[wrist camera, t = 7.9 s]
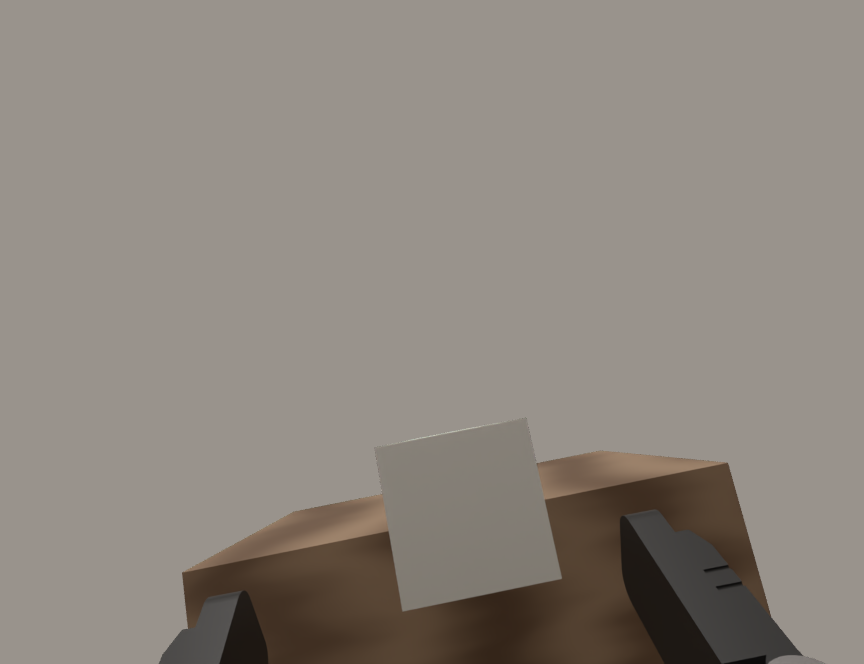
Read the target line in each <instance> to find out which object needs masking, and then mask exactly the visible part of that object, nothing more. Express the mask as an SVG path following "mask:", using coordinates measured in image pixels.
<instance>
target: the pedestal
mask: <svg viewBox="0 0 864 664" xmlns="http://www.w3.org/2000/svg"><path fill="white" fill-rule="evenodd" d="M537 468H538V472H539V477H540V481H541V486H542V490H543V495H544V499H545V504H546V508H547V513H548V518H549V522H550V527H551V531H552V536H553V540H554V545H555V549H556V554H557V558H558V563H559V567H560V572H561V576H562V579H559V580H554V581H549V582H544V583H539V584H534V585H529V586H525V587H520V588H515V589H510V590H505V591H500V592H495V593H491V594H486V595H481V596H476V597H471V598H466V599H461V600H457V601H452V602H447V603H442V604H437V605H432V606H427V607H423V608H418V609H413V610H408V611H403V612H402V606H401V600H400V594H399V588H398V583H397V577H396V571H395V565H394V559H393V553H392V548H391V542H390V536H389V530H388V524H387V518H386V512H385V507H384V501H383V495H382V494H381V495H376V496H371V497H365V498H360V499H355V500H350V501H345V502H340V503H335V504H330V505H325V506H321V507H315V508H310V509H305V510H300V511H295V512H292V513H290V514H289V515H287V516H285V517H283V518H281V519H279V520H278V521H276V522H274V523H272V524H270V525H269V526H267V527H265V528H263V529H261V530H259V531H258V532H256V533H254V534H252V535H250V536H248V537H247V538H245V539H243V540H241V541H239V542H237V543H236V544H234V545H232V546H230V547H228V548H226V549H225V550H223V551H221V552H219V553H217V554H215V555H214V556H212V557H210V558H208V559H207V560H205V561H203V562H201V563H199V564H197V565H195V566H194V567H192V568H190V569H188V570H186V571H185V572H183V573H182V575H183V585H184V594H185V604H186V613H187V622H188V629H189V628H195V627H196V624H197V621H198V618H199V616H200V613H201V610H202V607H203V605H204V602H205V601H206V599H207V598H208V597H212V596H217V595H222V594H227V593H233V592H238V591H243V590H245V591H247V592H248V594H249V596H250V599H251V601H252V604H253V607H254V610H255V613H256V616H257V619H258V621H259V624H260V627H261V630H262V633H263V636H264V639H265V642H266V645H267V651H268V664H664V662H663V660H662V658H661V656H660V654H659V653H658V651H657V649H656V647H655V645H654V643H653V642H652V640H651V638H650V636H649V634H648V632H647V631H646V629H645V627H644V625H643V623H642V621H641V619H640V618H639V616H638V614H637V612H636V610H635V608H634V607H633V605H632V603H631V601H630V599H629V596H628V594H627V591H626V588H625V584H624V580H623V575H622V564H621V540H620V518H621V516H623V515H628V514H633V513H639V512H644V511H649V510H654V509H655V510H658V511H659V512H660V513H661V514H662V515H663V517H664V518H665V519H666V521H667V522H668V523H669V525H670V526H671V527H672V529H673V530H674V531H675V532H678V531H683V530H688V529H689V530H690V531H692V532H693V533H695V534H696V535H698V536H700V537H701V538H703V539H704V540H706V541H707V542H709V543H710V544H712V545H713V546H714V548H715V549H716V550H717V551H718V553H719V554H720V555H721V556H722V557H723V559H724V560H725V561H726V562H727V564H728V566H729V568H730V569H732V570H733V571H734V572H735V573H736V575H737V576H738V577H739V578H740V580H741V581H742V584H743V586H746V587H747V588H748V589H749V591H750V592H751V593H752V594H753V596H754V597H755V598H756V599H757V601H758V602H759V603H760V604H761V605H762V607H763V608H764V609H765V610H766V612H767V613H768V614H769V615H770V611H769V608H768V604H767V600H766V596H765V593H764V589H763V586H762V582H761V579H760V576H759V572H758V568H757V565H756V561H755V557H754V554H753V551H752V547H751V543H750V540H749V536H748V533H747V529H746V526H745V522H744V519H743V515H742V511H741V508H740V504H739V501H738V497H737V494H736V490H735V486H734V483H733V479H732V476H731V472H730V469H729V465H728V463H725V462H714V461H704V460H693V459H683V458H671V457H662V456H651V455H641V454H630V453H619V452H609V451H596V452H591V453H586V454H582V455H577V456H571V457H566V458H561V459H556V460H551V461H546V462H541V463H537ZM770 617H771V615H770Z"/></svg>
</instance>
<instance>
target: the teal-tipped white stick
mask: <svg viewBox="0 0 864 664" xmlns="http://www.w3.org/2000/svg"><path fill="white" fill-rule="evenodd" d="M375 453H376V460H377V466H378V472H379V477H380V483H381V489H382V495H383V501H384V507H385V512H386V518H387V524H388V530H389V536H390V542H391V548H392V553H393V559H394V565H395V571H396V577H397V583H398V588H399V594H400V600H401V606H402V612H403V611H408V610H413V609H418V608H423V607H427V606H432V605H437V604H442V603H447V602H452V601H457V600H461V599H466V598H471V597H476V596H481V595H486V594H491V593H495V592H500V591H505V590H510V589H515V588H520V587H525V586H529V585H534V584H539V583H544V582H549V581H554V580H559V579H562V576H561V572H560V567H559V563H558V558H557V554H556V549H555V545H554V540H553V536H552V531H551V527H550V522H549V518H548V513H547V508H546V504H545V499H544V495H543V490H542V486H541V481H540V477H539V472H538V468H537V463H536V459H535V454H534V450H533V446H532V442H531V436H530V432H529V427H528V423H527V418H522V419H517V420H512V421H506V422H501V423H495V424H490V425H485V426H480V427H474V428H468V429H463V430H458V431H453V432H448V433H443V434H438V435H432V436H427V437H423V438H418V439H412V440H408V441H403V442H398V443H394V444H389V445H384V446H379V447H375Z"/></svg>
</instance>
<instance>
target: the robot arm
mask: <svg viewBox="0 0 864 664" xmlns="http://www.w3.org/2000/svg"><path fill="white" fill-rule="evenodd" d="M620 540H621V564H622V575H623V580H624V584H625V588H626V591H627V594H628V596H629V599H630V601H631V603H632V605H633V607H634V608H635V610H636V612H637V614H638V616H639V618H640V619H641V621H642V623H643V625H644V627H645V629H646V631H647V632H648V634H649V636H650V638H651V640H652V642H653V643H654V645H655V647H656V649H657V651H658V653H659V654H660V656H661V658H662V660H663V662H664V664H825V663H823V662H821V661H818V660H816V659H813V658H809V657H805V656H803V655H802V654H801V653H800V652H799V651H798V650H797V649H796V648H795V646H794V645H793V644H792V642H791V641H790V640H789V639H788V637H787V636H786V635H785V634H784V633H783V631H782V630H781V629H780V628H779V626H778V625H777V624H776V623H775V621H774V620H773V619H772V618H771V617H770V615H769V614H768V613H767V612H766V610H765V609H764V608H763V607H762V605H761V604H760V603H759V602H758V601H757V599H756V598H755V597H754V596H753V594H752V593H751V592H750V591H749V589H748V588H747V587H746V586H743V584H742V581H741V580H740V578H739V577H738V576H737V575H736V573H735V572H734V571H733V570H732V569H730V568H729V566H728V564H727V562H726V561H725V560H724V559H723V557H722V556H721V555H720V554H719V553H718V551H717V550H716V549H715V548H714V546H713V545H712V544H710V543H709V542H707V541H706V540H704V539H703V538H701V537H700V536H698V535H696V534H695V533H693V532H692V531H690V530H689V529H688V530H683V531H678V532H675V531H674V530H673V529H672V527H671V526H670V525H669V523H668V522H667V521H666V519H665V518H664V517H663V515H662V514H661V513H660V512H659V511H658V510H655V509H654V510H649V511H644V512H639V513H633V514H628V515H623V516H621V518H620ZM159 664H268V651H267V645H266V642H265V639H264V636H263V633H262V630H261V627H260V624H259V621H258V619H257V616H256V613H255V610H254V607H253V604H252V601H251V599H250V596H249V594H248V592H247V591H245V590H243V591H238V592H233V593H227V594H222V595H217V596H212V597H208V598H207V599H206V601H205V602H204V605H203V607H202V610H201V613H200V616H199V618H198V621H197V624H196V627H195V628H189V629H184V630H182V631H181V632H180V633H179V634H178V636H177V637H176V638H175V640H174V641H173V642H172V643H171V645H170V646H169V647H168V649H167V650H166V651H165V652H164V654H163V655H162V657H161V661H160V663H159Z"/></svg>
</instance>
